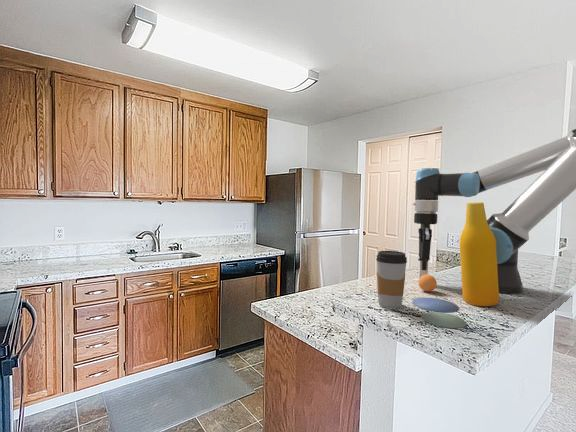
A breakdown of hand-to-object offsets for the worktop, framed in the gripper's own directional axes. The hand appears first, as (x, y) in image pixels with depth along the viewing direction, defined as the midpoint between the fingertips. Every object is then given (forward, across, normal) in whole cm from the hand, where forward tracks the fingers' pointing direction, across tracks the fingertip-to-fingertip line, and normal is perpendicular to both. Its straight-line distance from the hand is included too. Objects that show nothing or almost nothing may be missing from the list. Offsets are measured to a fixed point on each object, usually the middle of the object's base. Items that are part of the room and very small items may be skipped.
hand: (423, 278), depth 114 cm
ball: (-1, +10, 0) cm, 10 cm away
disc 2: (+2, +36, 0) cm, 36 cm away
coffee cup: (+2, +28, -12) cm, 31 cm away
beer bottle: (+2, +17, +14) cm, 22 cm away
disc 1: (+2, +24, 0) cm, 24 cm away
